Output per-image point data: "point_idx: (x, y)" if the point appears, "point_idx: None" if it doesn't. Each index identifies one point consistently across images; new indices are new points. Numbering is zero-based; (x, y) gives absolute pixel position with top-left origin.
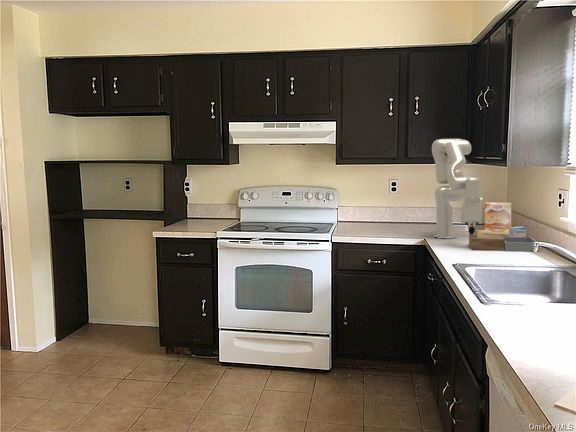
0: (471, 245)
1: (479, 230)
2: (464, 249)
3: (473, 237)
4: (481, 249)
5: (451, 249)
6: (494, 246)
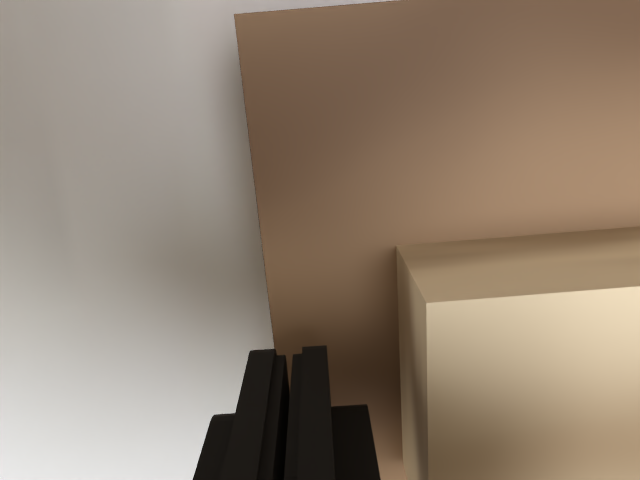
0: None
1: (533, 317)
2: None
3: None
4: None
5: (53, 452)
6: None
